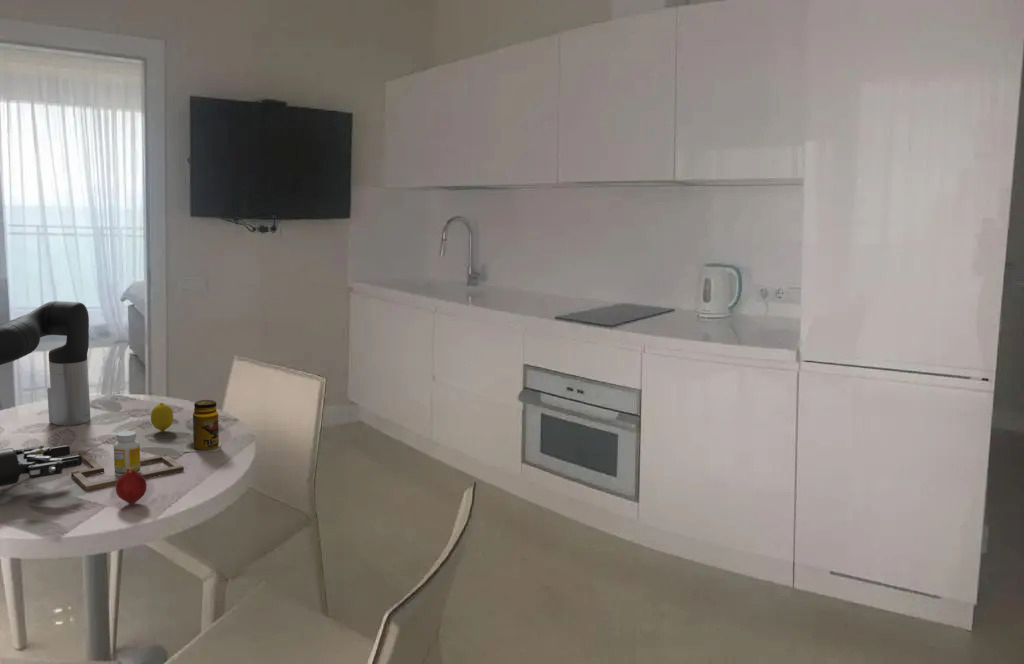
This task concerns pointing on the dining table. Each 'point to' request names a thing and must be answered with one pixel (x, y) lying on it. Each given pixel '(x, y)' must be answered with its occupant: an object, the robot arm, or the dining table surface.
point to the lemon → (162, 417)
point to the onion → (131, 486)
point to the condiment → (204, 428)
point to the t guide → (97, 468)
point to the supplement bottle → (126, 453)
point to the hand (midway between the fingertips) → (75, 454)
